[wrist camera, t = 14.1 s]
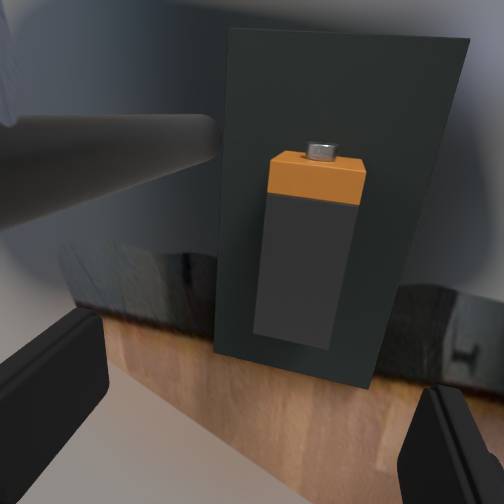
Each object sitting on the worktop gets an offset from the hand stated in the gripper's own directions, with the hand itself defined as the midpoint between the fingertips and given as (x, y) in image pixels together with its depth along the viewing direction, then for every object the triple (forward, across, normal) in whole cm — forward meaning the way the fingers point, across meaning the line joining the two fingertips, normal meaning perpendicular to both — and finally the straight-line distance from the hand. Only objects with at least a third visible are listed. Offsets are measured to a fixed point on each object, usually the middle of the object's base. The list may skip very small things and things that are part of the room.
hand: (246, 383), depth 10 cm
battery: (+13, -1, 0) cm, 13 cm away
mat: (+14, -1, 0) cm, 14 cm away
